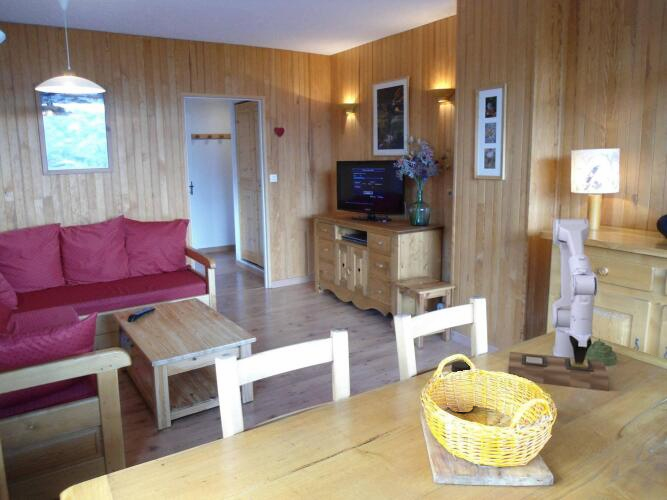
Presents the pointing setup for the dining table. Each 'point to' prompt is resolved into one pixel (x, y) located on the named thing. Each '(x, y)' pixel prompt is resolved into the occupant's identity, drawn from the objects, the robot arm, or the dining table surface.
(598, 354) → the decorative artifact
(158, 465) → the dining table surface
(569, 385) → the walnut board
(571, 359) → the brass peg
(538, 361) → the steel peg
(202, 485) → the dining table surface
